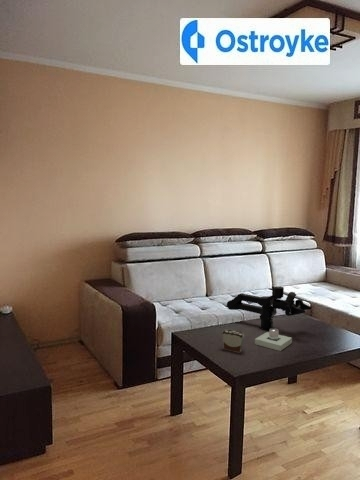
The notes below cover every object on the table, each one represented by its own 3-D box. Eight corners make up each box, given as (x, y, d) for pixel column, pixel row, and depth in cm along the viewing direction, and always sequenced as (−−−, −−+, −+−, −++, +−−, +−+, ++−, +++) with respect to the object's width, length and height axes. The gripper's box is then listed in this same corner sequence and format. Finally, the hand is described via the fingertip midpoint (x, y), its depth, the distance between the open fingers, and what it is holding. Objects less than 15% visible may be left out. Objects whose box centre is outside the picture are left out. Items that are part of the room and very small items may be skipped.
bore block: (254, 344, 217) (254, 338, 217) (267, 336, 229) (267, 331, 228) (280, 351, 208) (280, 345, 207) (291, 343, 219) (292, 337, 219)
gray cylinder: (267, 343, 218) (267, 329, 217) (271, 341, 222) (271, 327, 221) (275, 346, 215) (276, 331, 214) (279, 343, 218) (280, 329, 218)
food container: (247, 349, 209) (247, 331, 208) (242, 353, 204) (243, 334, 203) (225, 345, 215) (226, 327, 214) (221, 348, 210) (221, 330, 209)
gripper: (276, 294, 227) (302, 299, 218) (289, 288, 242) (315, 293, 232) (275, 313, 229) (301, 319, 219) (288, 306, 243) (313, 311, 233)
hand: (308, 309), depth 226 cm, fingers open, 9 cm apart
